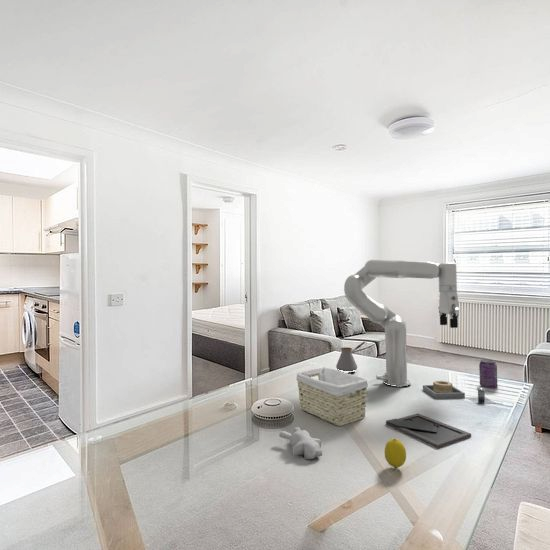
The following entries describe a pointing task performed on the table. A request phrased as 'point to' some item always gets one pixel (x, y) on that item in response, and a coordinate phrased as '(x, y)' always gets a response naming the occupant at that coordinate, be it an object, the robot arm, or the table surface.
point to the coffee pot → (347, 359)
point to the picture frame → (428, 430)
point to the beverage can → (488, 373)
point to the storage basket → (332, 395)
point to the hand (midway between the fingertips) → (448, 326)
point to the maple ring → (442, 387)
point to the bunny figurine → (303, 443)
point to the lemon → (395, 453)
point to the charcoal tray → (455, 394)
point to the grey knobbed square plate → (481, 397)
